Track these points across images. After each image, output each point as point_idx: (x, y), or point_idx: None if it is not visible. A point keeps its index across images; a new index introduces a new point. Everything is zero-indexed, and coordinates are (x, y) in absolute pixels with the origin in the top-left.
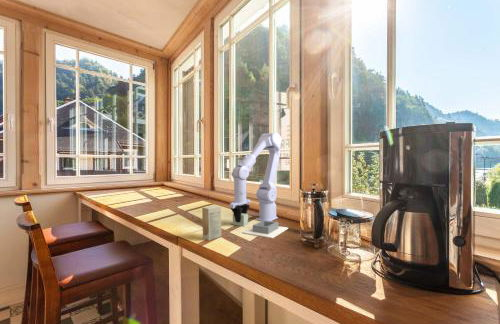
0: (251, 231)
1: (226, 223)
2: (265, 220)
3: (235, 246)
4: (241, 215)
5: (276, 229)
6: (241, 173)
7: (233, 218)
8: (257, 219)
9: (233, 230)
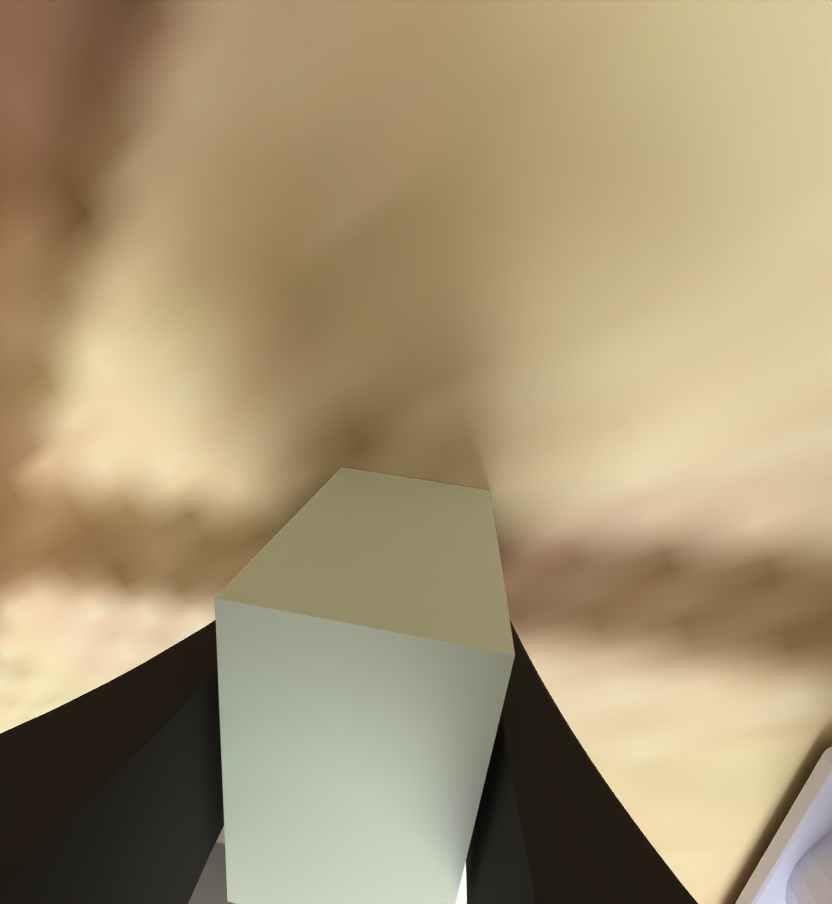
0: None
1: (361, 295)
2: (753, 891)
3: None
4: (227, 844)
5: None
6: None
7: (289, 536)
8: (818, 777)
9: (82, 603)
